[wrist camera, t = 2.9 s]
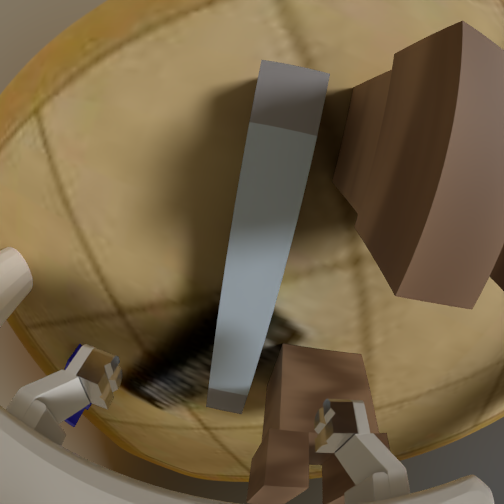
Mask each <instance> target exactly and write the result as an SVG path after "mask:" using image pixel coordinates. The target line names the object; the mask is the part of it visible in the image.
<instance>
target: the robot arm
mask: <svg viewBox="0 0 504 504" xmlns="http://www.w3.org/2000/svg"><path fill="white" fill-rule="evenodd" d="M119 362H120V361H119V357H118V356H116V355H113V354H111V353H108V352H105V351H103V350H100V349H98V348H95V347H93V346H90V345H88V344H84V345H83V346H82V347H81V348H80V350H79V351H78V352H77V354H76V355H75V357H74V358H73V359H72V361H71V362H70V364H69V365H68V367H67V368H66V370H63V369H62V370H60V371H57V372H55V373H53V374H51V375H48V376H46V377H44V378H42V379H40V380H37V381H35V382H33V383H30V384H28V385H26V386H24V387H21V388H20V389H19V390H18V392H17V393H16V395H15V396H14V398H13V399H12V401H11V402H10V404H9V405H8V407H7V408H6V409H4V408H3V407H2V406H0V504H238V503H231V502H223V501H217V500H212V499H206V498H201V497H196V496H191V495H187V494H183V493H179V492H175V491H171V490H168V489H164V488H160V487H157V486H154V485H151V484H148V483H145V482H141V481H138V480H136V479H133V478H130V477H127V476H124V475H122V474H120V473H117V472H115V471H112V470H110V469H107V468H104V467H103V466H100V465H98V464H96V463H93V462H91V461H89V460H87V459H85V458H83V457H81V456H79V455H77V454H75V453H73V452H71V451H69V450H68V449H66V448H64V447H62V446H61V445H62V443H63V441H64V439H65V437H66V434H65V432H64V430H63V429H62V428H61V426H60V425H59V423H61V422H63V421H64V420H66V419H67V418H69V417H70V416H72V415H74V414H75V413H77V412H78V411H80V410H81V409H83V408H84V407H86V406H87V405H89V404H90V403H92V404H95V405H97V406H100V407H103V408H105V409H108V408H109V406H110V404H111V402H112V400H113V398H114V396H113V392H114V391H116V390H118V388H119V386H120V384H121V380H122V369H121V368H120V367H119V365H118V364H119ZM314 430H315V431H316V432H317V434H318V435H317V437H316V438H315V452H318V453H335V455H336V457H337V458H338V460H339V461H340V463H341V464H342V466H343V467H344V469H345V470H346V472H347V473H348V475H349V476H350V478H351V479H352V480H353V482H354V483H355V486H354V487H352V488H350V489H349V490H347V491H346V492H345V493H344V497H345V504H494V499H493V495H492V492H491V490H490V488H489V487H488V486H487V485H486V484H485V483H483V482H482V481H481V480H480V479H479V478H477V477H476V476H474V475H468V476H465V477H462V478H459V479H457V480H454V481H451V482H448V483H446V484H443V485H439V486H436V487H433V488H430V489H426V490H423V491H419V492H415V493H412V494H410V489H409V483H408V477H407V472H406V468H405V467H404V465H403V464H402V463H401V462H400V461H399V460H398V459H397V458H396V457H395V456H394V455H393V454H392V453H391V452H390V451H389V450H388V449H387V447H386V446H385V445H384V444H383V443H382V442H381V441H380V440H379V439H378V438H377V437H376V436H375V435H374V433H370V429H369V424H368V419H367V414H366V410H365V405H364V402H363V401H362V400H350V399H326V400H325V401H324V403H323V407H322V408H320V409H319V410H318V412H317V413H316V416H315V419H314Z"/></svg>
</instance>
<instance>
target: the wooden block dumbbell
mask: <svg viewBox="0 0 504 504" xmlns="http://www.w3.org/2000/svg"><path fill="white" fill-rule="evenodd" d="M332 183H333V184H334V185H335V186H336V187H337V189H338V190H339V191H340V192H341V193H342V195H343V196H344V197H345V198H346V200H347V201H348V202H349V203H350V205H351V206H352V207H353V208H354V210H355V211H356V212H357V213H358V217H357V220H356V223H355V226H354V227H355V229H356V230H357V232H358V233H359V235H360V237H361V238H362V240H363V241H364V243H365V245H366V246H367V248H368V250H369V251H370V253H371V255H372V256H373V258H374V260H375V261H376V263H377V265H378V266H379V268H380V270H381V271H382V273H383V275H384V277H385V278H386V280H387V282H388V284H389V286H390V287H391V289H392V291H393V293H394V295H395V296H398V297H403V298H409V299H414V300H420V301H425V302H431V303H437V304H443V305H448V306H454V307H460V308H466V309H473V307H474V305H475V303H476V301H477V300H478V298H479V296H480V294H481V292H482V290H483V288H484V286H485V284H486V282H487V280H488V278H489V276H490V277H491V278H492V279H493V280H494V281H495V282H496V283H497V284H498V285H499V287H500V288H501V289H502V290H503V291H504V50H503V49H501V48H500V47H499V46H498V45H496V44H495V43H494V42H492V41H491V40H490V39H488V38H487V37H486V36H484V35H483V34H482V33H480V32H479V31H477V30H476V29H474V28H473V27H471V26H470V25H468V24H467V23H465V22H464V21H461V22H458V23H456V24H454V25H452V26H449V27H447V28H445V29H443V30H441V31H438V32H436V33H434V34H432V35H430V36H428V37H426V38H424V39H422V40H420V41H418V42H416V43H414V44H412V45H410V46H408V47H407V48H405V49H403V50H401V51H399V52H397V53H395V54H394V60H393V67H392V70H390V71H388V72H385V73H383V74H381V75H379V76H377V77H374V78H372V79H370V80H368V81H366V82H364V83H362V84H360V85H357V86H355V87H353V92H352V97H351V102H350V107H349V112H348V117H347V121H346V126H345V131H344V135H343V139H342V144H341V148H340V152H339V157H338V161H337V165H336V169H335V173H334V177H333V181H332ZM326 399H350V400H362V401H363V402H364V405H365V410H366V414H367V419H368V424H369V429H370V433H374V435H375V436H376V437H377V438H378V439H379V440H380V441H381V442H382V443H383V444H384V445H385V446H386V447H387V449H388V450H389V451H390V449H389V443H388V438H387V433H379V431H378V425H377V420H376V415H375V410H374V406H373V401H372V396H371V392H370V387H369V383H368V379H367V375H366V370H365V366H364V362H363V358H362V354H353V353H345V352H337V351H329V350H321V349H314V348H308V347H301V346H295V345H289V344H283V345H282V347H281V350H280V353H279V356H278V358H277V361H276V364H275V367H274V369H273V372H272V375H271V377H270V380H269V382H268V385H267V393H266V404H265V415H264V425H263V435H262V443H261V445H260V446H259V448H258V450H257V452H256V453H255V455H254V457H253V458H252V463H251V471H250V478H249V487H248V493H247V501H246V503H252V504H284V503H286V502H288V501H289V500H291V499H292V498H294V497H295V496H297V495H299V494H300V493H302V492H303V491H305V490H306V489H308V488H309V464H310V465H322V478H323V504H345V497H344V493H345V492H346V491H347V490H349V489H350V488H352V487H354V486H355V483H354V482H353V480H352V479H351V478H350V476H349V475H348V473H347V472H346V470H345V469H344V467H343V466H342V464H341V463H340V461H339V460H338V458H337V457H336V455H335V453H318V452H315V438H316V437H317V435H318V434H317V432H316V431H315V430H314V419H315V416H316V413H317V412H318V410H319V409H320V408H322V407H323V403H324V401H325V400H326Z"/></svg>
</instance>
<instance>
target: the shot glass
mask: <svg viewBox="0 0 504 504" xmlns="http://www.w3.org/2000/svg"><path fill="white" fill-rule="evenodd" d="M32 287H33V279H32V275H31V272H30V269H29V267H28V265H27V263H26V261H25V259H24V258H23V257H22V255H21V254H20V253H19V252H18V251H17V250H16V249H14V248H13V247H7V248H5V249H3V250H1V251H0V327H1V326H2V325H3V323H4V322H5V321H6V320H7V318H8V317H9V316H10V315H11V314H12V312H13V311H14V310H15V309H16V307H17V306H18V305H19V304H20V303H21V302H22V300H23V299H24V298H25V297H26V296H27V295H28V293H29V292H30V291H31V289H32Z"/></svg>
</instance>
